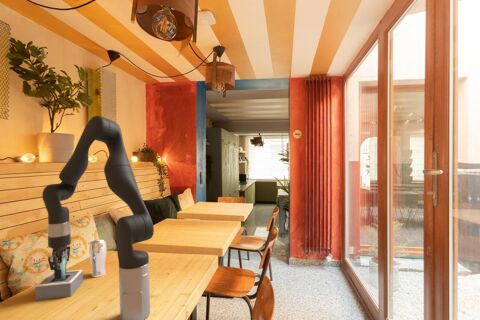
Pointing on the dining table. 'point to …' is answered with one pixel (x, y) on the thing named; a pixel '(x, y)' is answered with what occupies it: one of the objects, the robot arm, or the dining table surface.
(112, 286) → the dining table surface
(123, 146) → the robot arm
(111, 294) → the dining table surface
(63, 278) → the plug
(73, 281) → the socket block
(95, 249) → the tumbler
